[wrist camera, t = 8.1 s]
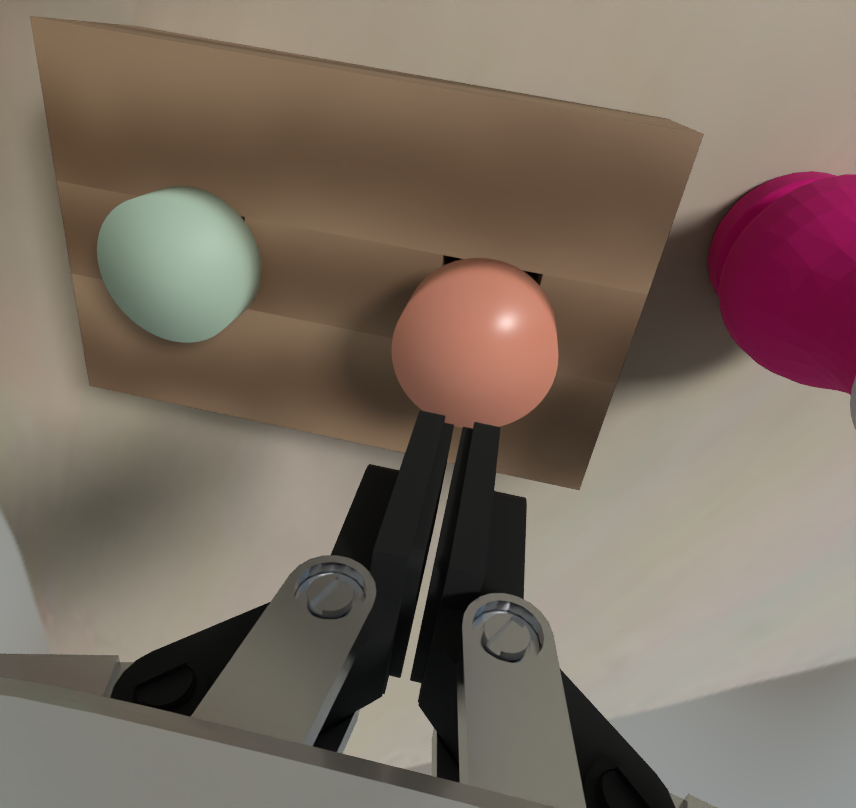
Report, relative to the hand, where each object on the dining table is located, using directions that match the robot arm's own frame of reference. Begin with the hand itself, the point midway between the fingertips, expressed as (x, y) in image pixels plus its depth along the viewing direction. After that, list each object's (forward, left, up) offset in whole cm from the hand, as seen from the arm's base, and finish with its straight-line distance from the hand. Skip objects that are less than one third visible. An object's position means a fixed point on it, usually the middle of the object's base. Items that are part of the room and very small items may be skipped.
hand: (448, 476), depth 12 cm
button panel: (+1, -6, -17) cm, 18 cm away
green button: (+1, -11, -16) cm, 20 cm away
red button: (+1, 0, -15) cm, 15 cm away
